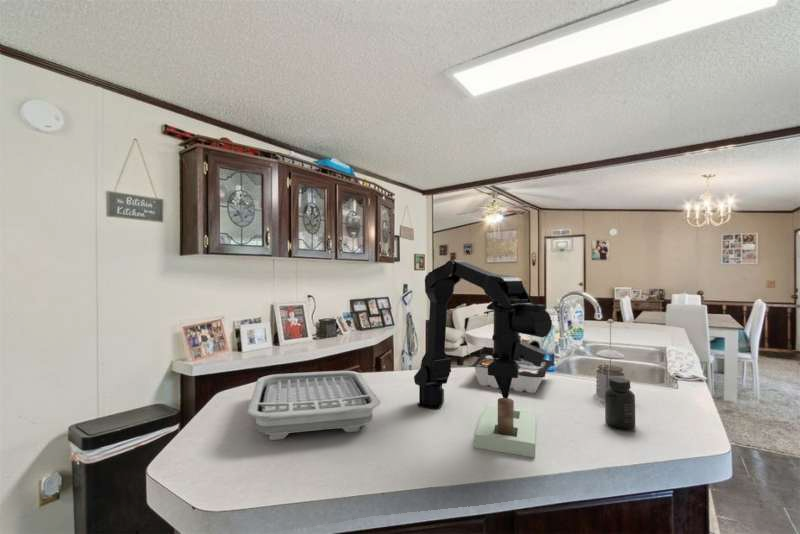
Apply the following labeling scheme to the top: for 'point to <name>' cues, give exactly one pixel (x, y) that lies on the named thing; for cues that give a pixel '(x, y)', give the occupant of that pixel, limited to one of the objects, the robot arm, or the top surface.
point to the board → (515, 444)
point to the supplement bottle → (620, 405)
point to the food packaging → (526, 378)
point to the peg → (505, 416)
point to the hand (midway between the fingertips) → (505, 397)
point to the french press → (607, 370)
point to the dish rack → (311, 402)
